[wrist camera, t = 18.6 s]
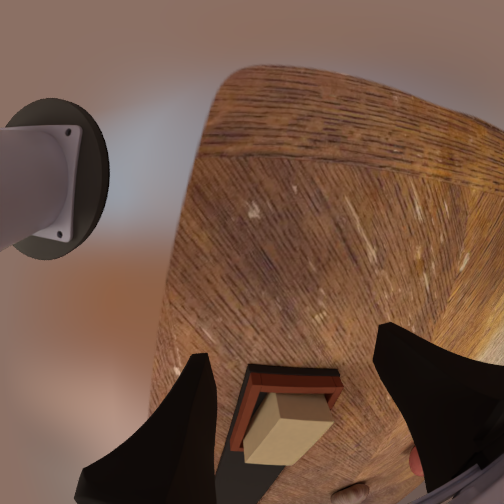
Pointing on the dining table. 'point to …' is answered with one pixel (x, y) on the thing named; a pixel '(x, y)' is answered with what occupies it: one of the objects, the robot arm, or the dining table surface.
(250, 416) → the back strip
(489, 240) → the dining table surface
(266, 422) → the foam pad
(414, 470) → the apple
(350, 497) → the garlic bulb
